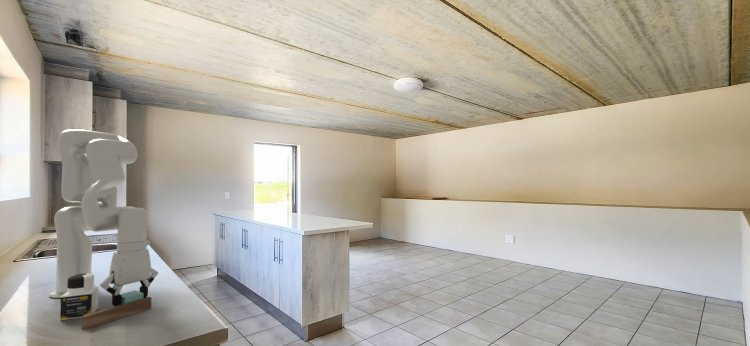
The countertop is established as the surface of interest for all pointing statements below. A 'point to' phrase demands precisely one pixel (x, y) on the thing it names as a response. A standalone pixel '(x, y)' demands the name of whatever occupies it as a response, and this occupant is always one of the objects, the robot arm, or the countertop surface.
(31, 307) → the countertop surface
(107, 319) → the walnut fence
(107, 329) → the countertop surface
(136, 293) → the teal block
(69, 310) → the medicine bottle
